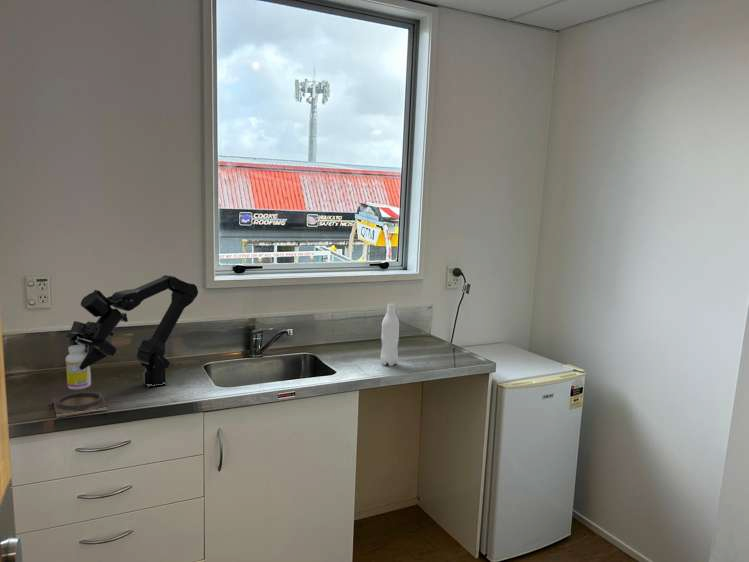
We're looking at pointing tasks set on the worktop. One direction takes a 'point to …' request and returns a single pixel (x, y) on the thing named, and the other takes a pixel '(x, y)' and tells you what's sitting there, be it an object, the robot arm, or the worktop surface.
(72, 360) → the supplement bottle
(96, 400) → the locating board
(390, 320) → the water bottle
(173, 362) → the worktop surface
